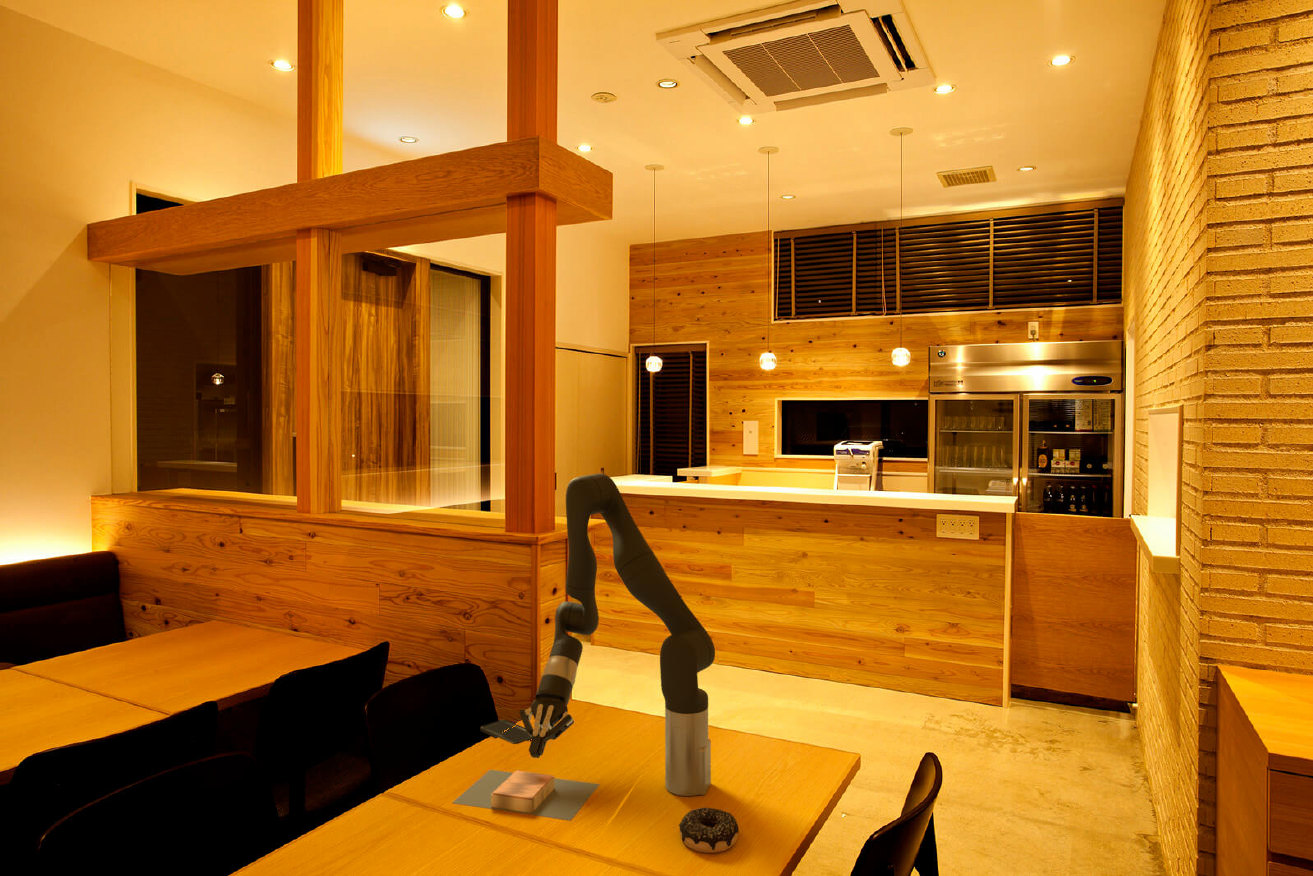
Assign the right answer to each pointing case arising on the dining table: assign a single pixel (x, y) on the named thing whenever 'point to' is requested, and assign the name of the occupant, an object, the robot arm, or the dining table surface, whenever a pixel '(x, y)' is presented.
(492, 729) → the phone
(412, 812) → the dining table surface
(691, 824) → the donut
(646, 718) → the dining table surface
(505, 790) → the tan wooden block
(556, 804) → the mat
